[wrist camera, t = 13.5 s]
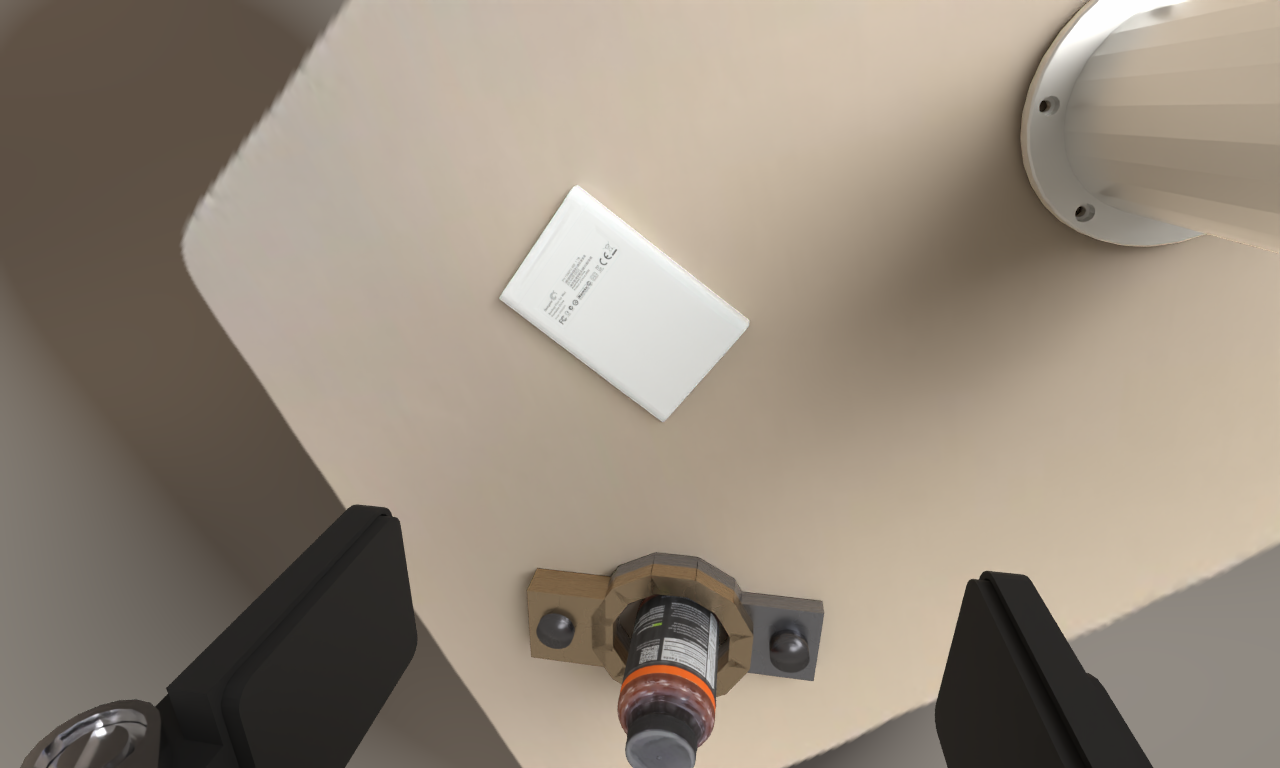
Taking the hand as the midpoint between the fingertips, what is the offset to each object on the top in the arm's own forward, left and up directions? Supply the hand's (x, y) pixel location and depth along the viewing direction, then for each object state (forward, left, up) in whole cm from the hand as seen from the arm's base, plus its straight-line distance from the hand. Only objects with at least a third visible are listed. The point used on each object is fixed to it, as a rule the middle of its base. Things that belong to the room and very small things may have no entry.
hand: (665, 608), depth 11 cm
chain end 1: (+4, +26, -28) cm, 39 cm away
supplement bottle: (+2, +26, -28) cm, 38 cm away
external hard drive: (+6, +3, -29) cm, 30 cm away
